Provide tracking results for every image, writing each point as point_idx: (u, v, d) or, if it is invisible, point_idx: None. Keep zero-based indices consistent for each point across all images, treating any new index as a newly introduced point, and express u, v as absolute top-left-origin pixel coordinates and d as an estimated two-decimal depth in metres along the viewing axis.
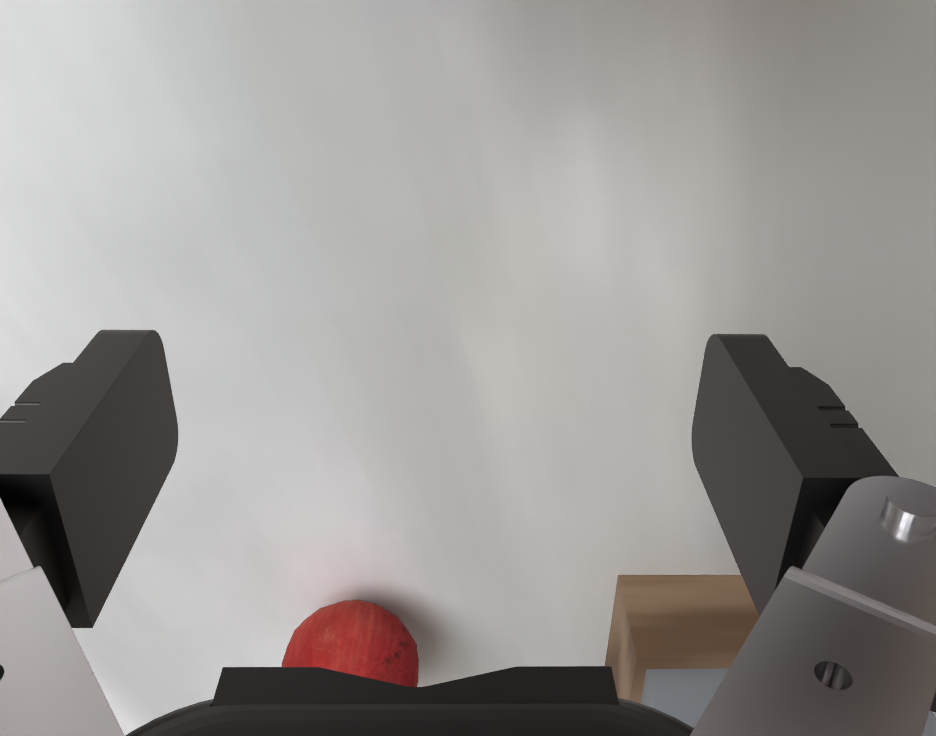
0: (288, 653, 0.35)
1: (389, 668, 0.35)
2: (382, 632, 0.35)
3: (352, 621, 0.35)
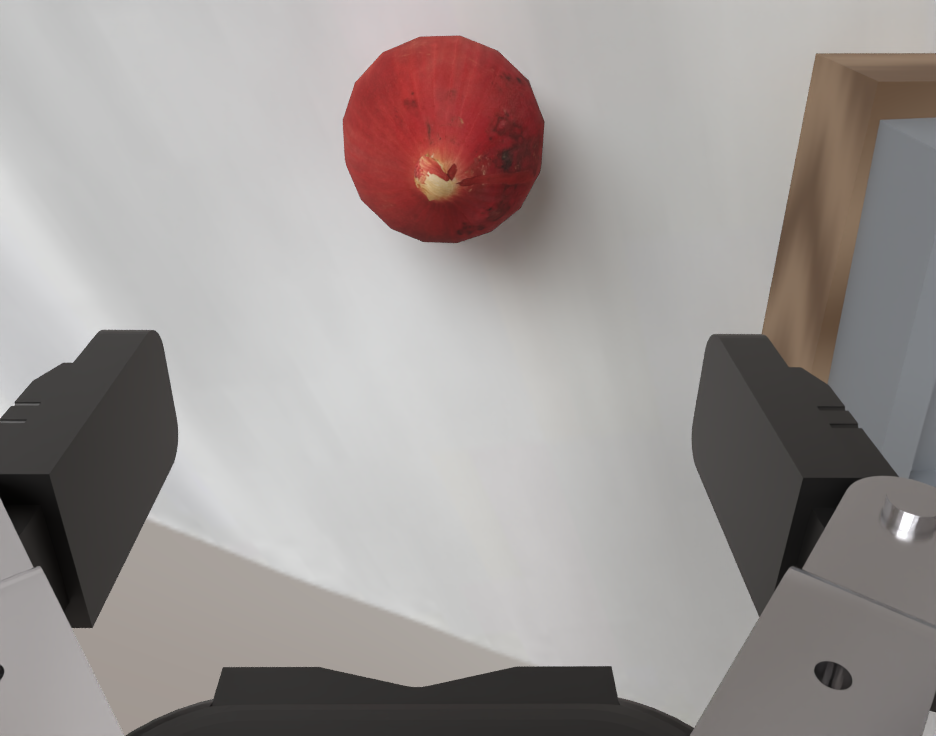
0: (354, 89, 0.24)
1: (510, 87, 0.23)
2: (495, 52, 0.23)
3: (451, 36, 0.23)
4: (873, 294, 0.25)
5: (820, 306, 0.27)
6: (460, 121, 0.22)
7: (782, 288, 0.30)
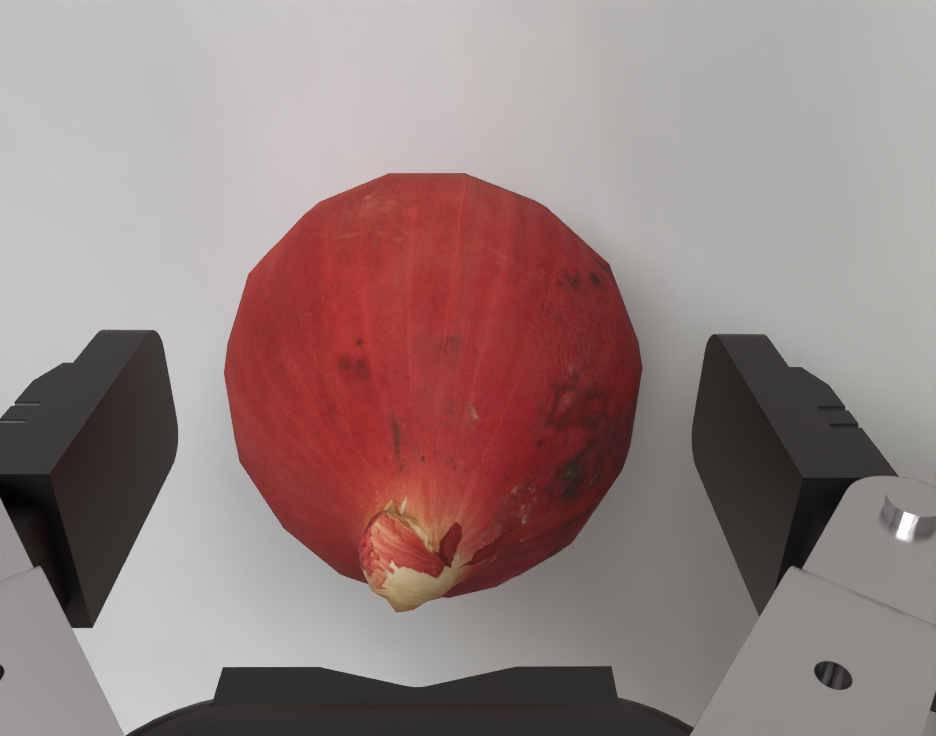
0: (245, 290, 0.11)
1: (581, 304, 0.10)
2: (544, 215, 0.11)
3: (449, 181, 0.11)
4: None
5: None
6: (469, 415, 0.09)
7: None
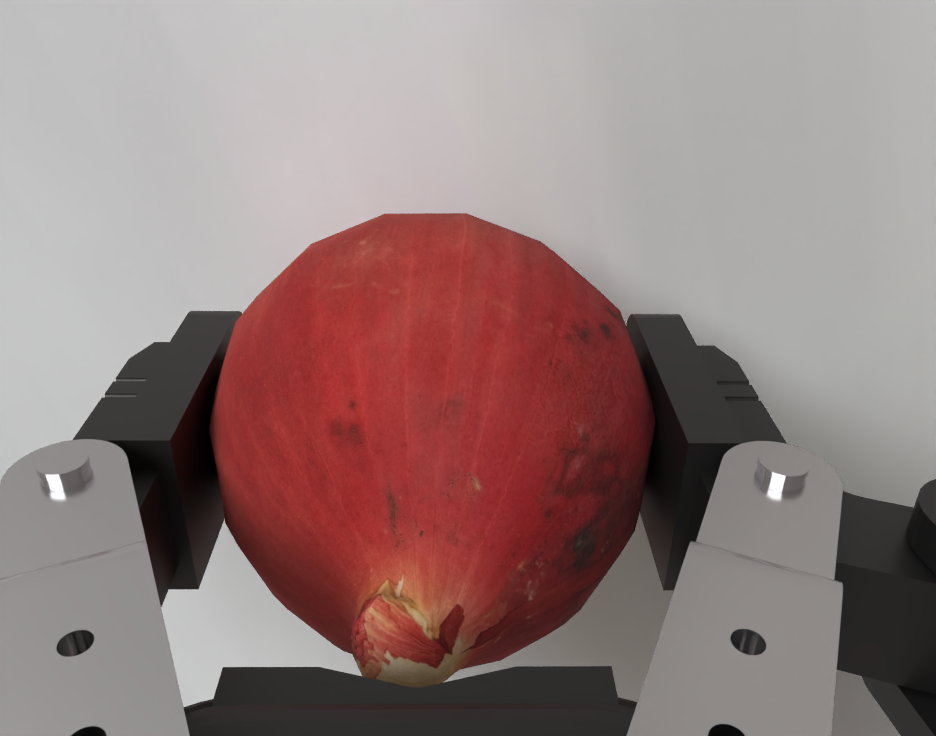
0: (231, 340, 0.10)
1: (591, 359, 0.10)
2: (550, 261, 0.10)
3: (449, 224, 0.10)
4: None
5: None
6: (472, 486, 0.08)
7: None
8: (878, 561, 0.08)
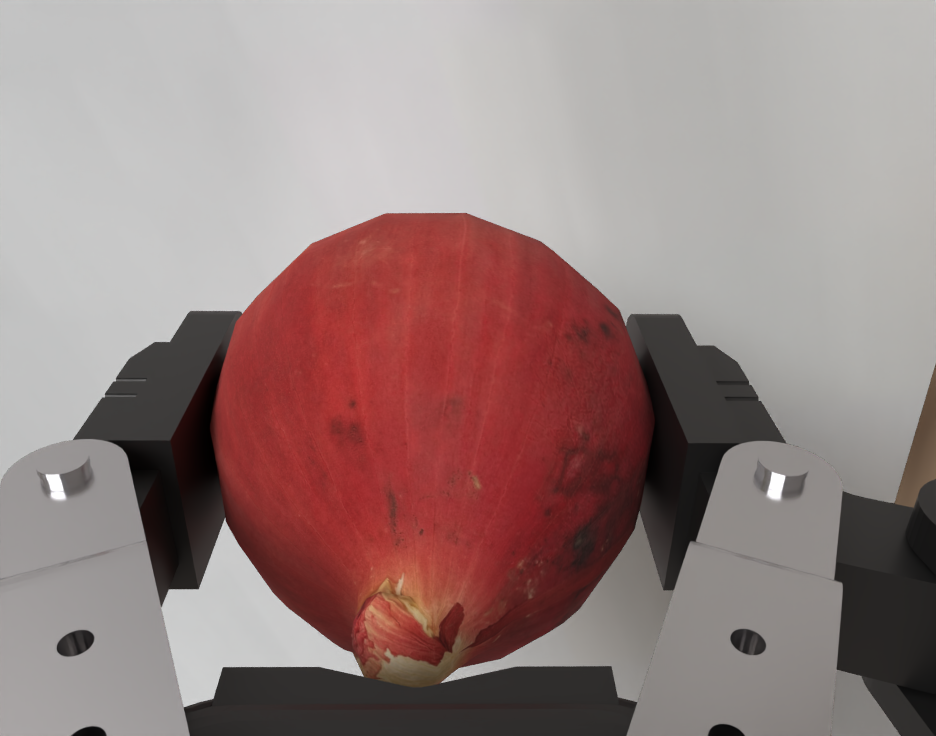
0: (232, 340, 0.11)
1: (590, 358, 0.10)
2: (550, 260, 0.10)
3: (449, 224, 0.10)
4: None
5: None
6: (472, 484, 0.08)
7: None
8: (878, 561, 0.08)
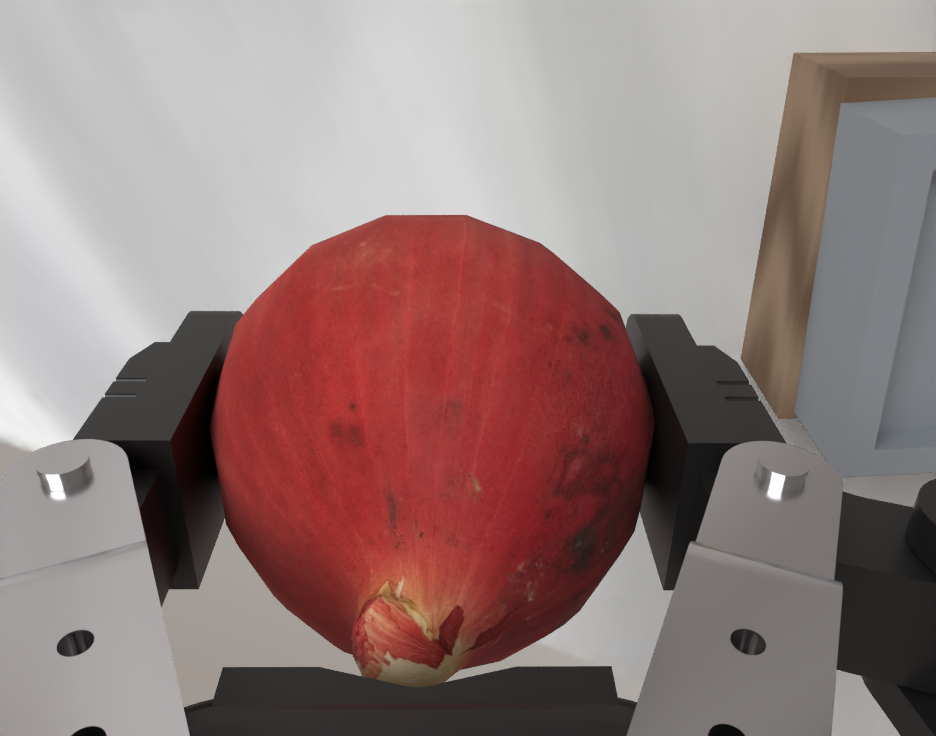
0: (232, 342, 0.11)
1: (591, 360, 0.10)
2: (550, 263, 0.10)
3: (449, 226, 0.10)
4: (839, 266, 0.26)
5: (800, 288, 0.29)
6: (472, 487, 0.08)
7: (766, 273, 0.32)
8: (878, 561, 0.08)
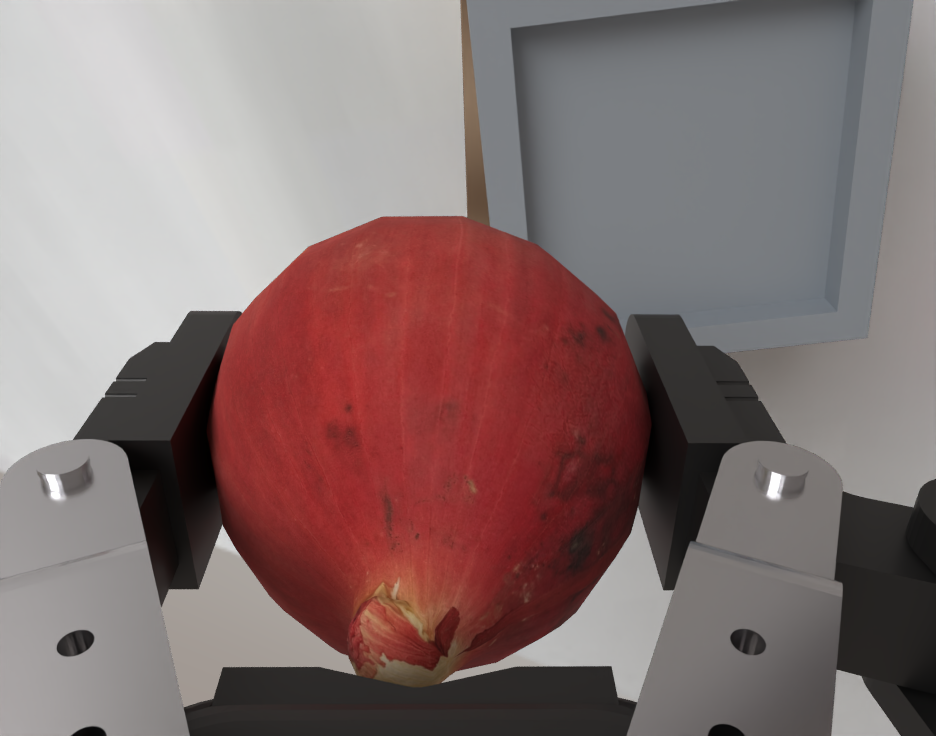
0: (229, 343, 0.11)
1: (586, 362, 0.10)
2: (547, 264, 0.10)
3: (446, 227, 0.10)
4: (482, 151, 0.25)
5: None
6: (468, 488, 0.08)
7: None
8: (878, 561, 0.08)
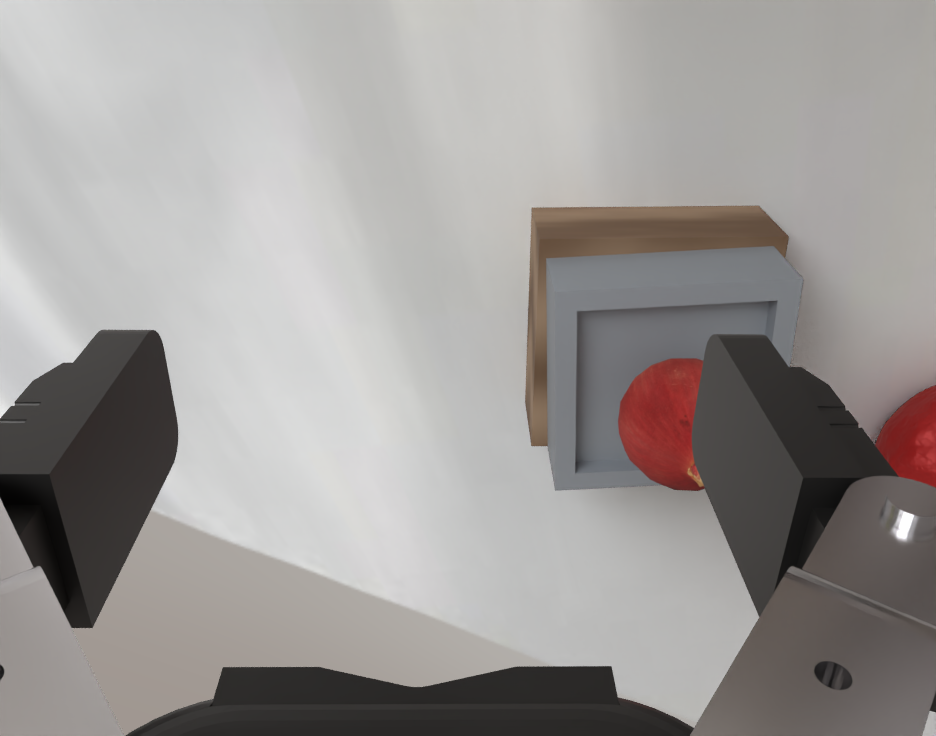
0: (634, 397, 0.37)
1: None
2: None
3: (697, 364, 0.37)
4: (550, 358, 0.42)
5: (534, 362, 0.44)
6: None
7: (528, 347, 0.47)
8: None
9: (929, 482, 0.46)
